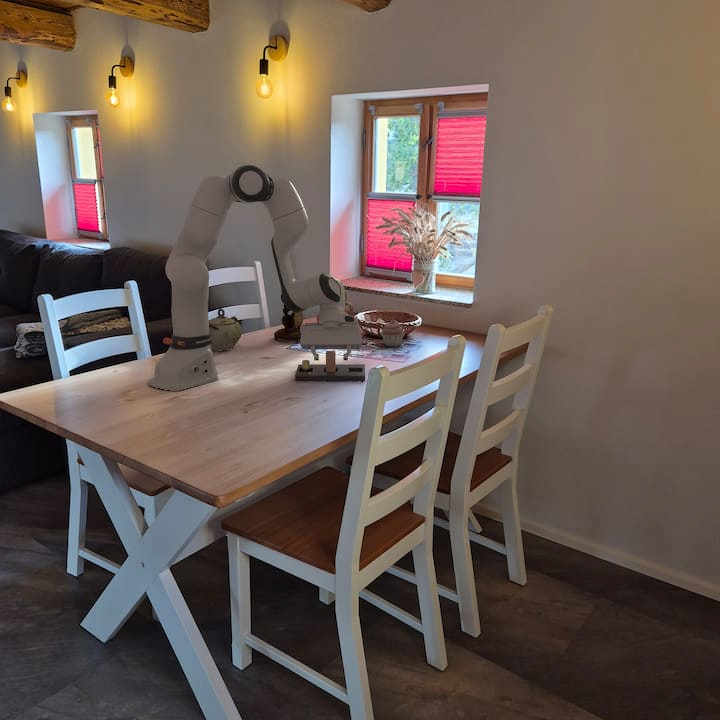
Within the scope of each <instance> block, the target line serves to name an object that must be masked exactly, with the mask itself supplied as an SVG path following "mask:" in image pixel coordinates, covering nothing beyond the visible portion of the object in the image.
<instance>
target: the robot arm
mask: <svg viewBox="0 0 720 720" xmlns="http://www.w3.org/2000/svg"><path fill="white" fill-rule="evenodd" d="M234 203H244V204H255V203H261V204H263V205H264V207H265V209H266V210H267V211H268V214H269V217H270V219H271V221H272V224H273V231H274V232H273V237H272V238H271V241H270V243H271V251H272V256H273V261H274V265H275V267H276V268H275V269H276V273H277V276H278V280H279V284H280V290H281V294H282V299H283V302H282V304H283V306H284V305H285V306H286V307H287V308H288V309H289V310H291V311H290V312H296V313H299V312H301V311H302V312H303V311H306V310H308V309H310V308H314V307H317V306H319V312H318V314H319V323H318V322H311V323H310V322H304V323H302V325H301V326H300V333H301V339H300V340H299V341H300V342H299V343H300V347H301V349H302V350H310V353H312V355H313V360H314V361H317V362H318V361H320V356H319V355H320V354H319V353H316V350H346V352H345V353H343V357H342V358H343V361H349V356H350V355H351V353H352V350H361V349H362V347H363V337H362V330H361V328H360V326H359V320H358V317H356V316H352V315H351V316H349V315H346V314H345V312H346V311H345V307H346V306H345V292H346V291H345V288H344V284H343V282H342V281H341V279H338V278H337V277H334V276H332V275H329V274H328V273H326V272H321V273H319V274H318V273H317V274H314V275H311V276H309V277H306V278H303V279H300V280H297V279H296V278H295V275H294V274H295V273H294V270H293V266H292V262H291V259H290V257H291V256H290V255H291V254H290V253H291V252H292V249H293V248H294V247H295V245H297V243H299V242H300V241H301V240H302V239H303V238H304V237H305V235H306V234H307V232H308V231H309V226H310V221H309V216H308V213H307V211H306V208H305V205H304V203H303V200H302V199H301V197H300V195H299V192H298V190H297V189H296V187H295V186H294V184H293V182H292V181H290V179H288V178H286V177H277V178H276V177H275V178H271V176H269V174H267V173H266V172H265V171H263V170H262V169H261V168H259V167H258V166H255V165H251V164H245V165H242V166H238V167H237V168H236V169H234V171H233V172H232V173H230V174H229V175H228V176H227V177H225V178H224V177H221V176H218V175H207V176H205V177H204V178H203V179H202V180H201V182H200V183H199V185H198V186H197V188H196V191H195V193H194V195H193V197H192V200H191V202H190V205H189V208H188V211H187V214H186V216H185V219H184V222H183V225H182V227H181V230H180V232H179V234H178V236H177V238H176V241H175V243H174V244H173V247H172V249H171V252H170V254H169V257H168V258H167V261H166V262H165V274H166V277H167V278H168V280H169V281H170V283H171V310H170V311H171V321H172V331H173V333H172V335H171V338H170V337H164V338H163V340H162V342H163V344H164V345H169V348H168V350H167V351H166V352H165V353H164V354H163V355H162V357H161V358H160V360H158V361H157V363H156V364H155V368H154V377H153V378H150V379H148V380H147V385H148V384H149V385H151V386H153V387H156V388H155V389H157V388H160V389H159V390H161V389H164V390H163V391H167V390H170V392H178V391H179V392H180V390H181V391H184V390H186V389H187V388H188V389H191V388H194V386H195V387H198V386H201V385H205V384H207V383H211V382H214V381H218V380H219V377H218V370H217V368H216V364H215V359H214V353H213V350H212V349H211V343H212V340H211V338H212V337H211V332H210V331H209V320H210V319H209V297H210V296H209V295H210V293H209V291H210V271H209V269H208V266H207V264H206V263H207V261H208V259H209V257H210V256H211V253H212V251H213V249H214V248H215V247H216V245H217V244H218V241H219V239H220V235H221V233H222V230H223V227H224V225H225V222H226V219H227V216H228V213H229V211H230V208H231V206H232V205H233V204H234ZM344 311H345V312H344ZM149 385H148V386H149ZM197 385H198V386H197ZM151 386H150V387H151ZM153 387H152V388H153ZM190 387H191V388H190ZM183 389H184V390H183ZM188 389H187V390H188Z"/></svg>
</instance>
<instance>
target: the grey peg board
mask: <svg viewBox="0 0 720 720" xmlns="http://www.w3.org/2000/svg"><path fill="white" fill-rule="evenodd" d="M295 381H327V382H328V383H329V382H331V383H334V382H335V383H336V382H337V383H339V382H340V383H341V382H342V383H343V382H345V383H346V382H349V383H350V382H351V383H354V382H355V383H359V382H358V381H361V382H362V383H363V381H365V382H366V365H365V364H364V363H362V364H359V363H358V364H357V363H356V364H353V363H352V364H348V363H347V364H346V363H345V364H343V363H342V364H339V363H338V364H336V372H326V363H325V364H315V363H313V364H310V360H309V359H304V360H302V361H301V364H297V368H296V371H295V374H294V382H295ZM361 382H360V383H361Z"/></svg>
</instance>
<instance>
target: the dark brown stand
mask: <svg viewBox="0 0 720 720" xmlns="http://www.w3.org/2000/svg"><path fill="white" fill-rule="evenodd" d="M280 300H281V302H282V303H283V299H282V293H281V294H280ZM289 312H291V314H290V313H289ZM282 313H283V316H282V318H281V323H282V325H283V327H284V328H280V329H277V330H276V331H275V332H274V333H273V337H274V339H275V341H278V340H281V341H295V343H296V344H299V341H300V339H301V333H300V327H301V326H302V325H303V324H304V323H303V322H304V315H303V311H301V312H299V313H296V312H293V311H291V310H289V309H288V308H287V307H286V306H285V305H284V304H283V309H282Z"/></svg>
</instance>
